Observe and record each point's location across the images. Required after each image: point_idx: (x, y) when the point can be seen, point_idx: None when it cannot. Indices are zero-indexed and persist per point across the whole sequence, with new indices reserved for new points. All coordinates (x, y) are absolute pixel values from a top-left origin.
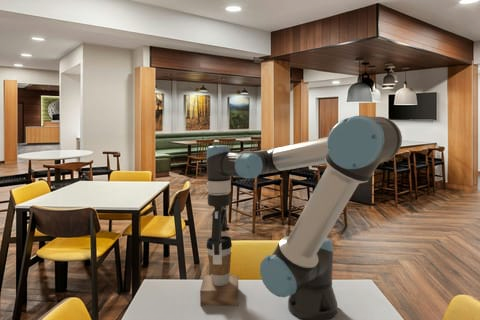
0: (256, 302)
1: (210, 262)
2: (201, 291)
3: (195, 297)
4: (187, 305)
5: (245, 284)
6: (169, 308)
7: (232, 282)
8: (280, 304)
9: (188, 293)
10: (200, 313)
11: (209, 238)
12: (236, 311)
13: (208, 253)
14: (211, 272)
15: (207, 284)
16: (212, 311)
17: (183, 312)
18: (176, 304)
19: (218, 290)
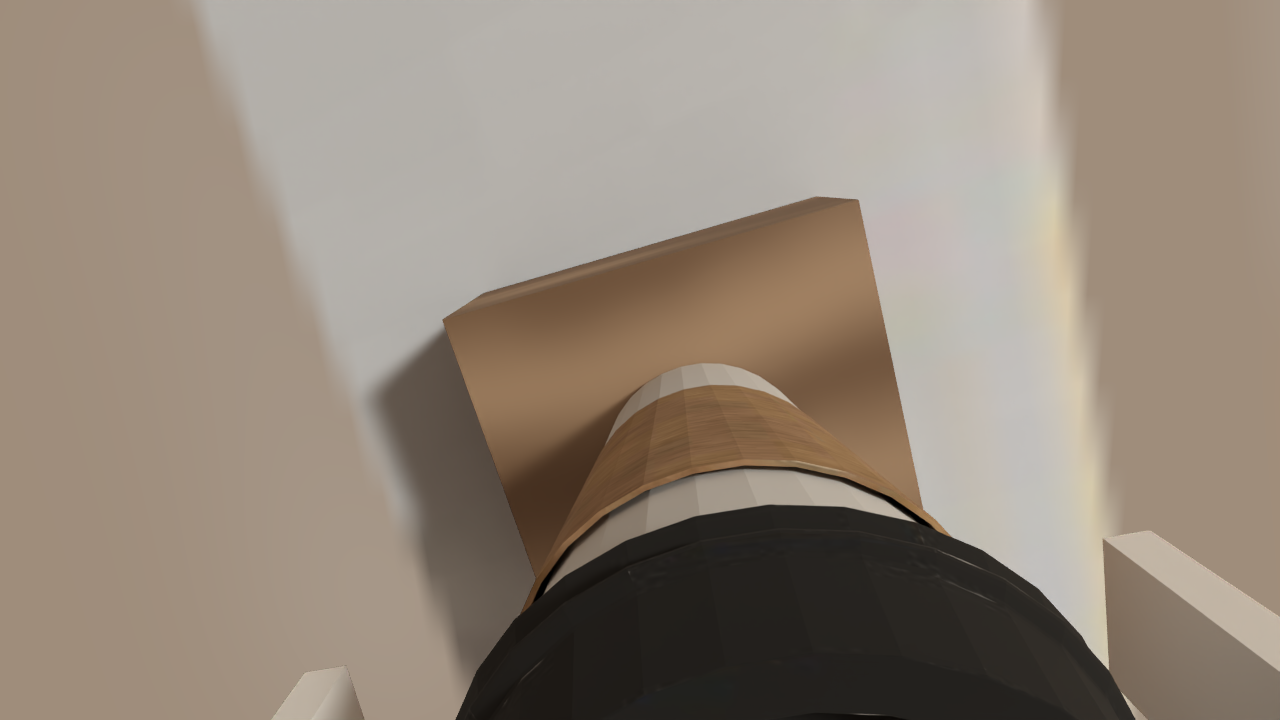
0: None
1: (583, 496)
2: (450, 331)
3: (621, 182)
4: (451, 174)
5: (995, 542)
6: (340, 26)
7: None
8: None
9: (684, 72)
10: (364, 343)
11: (928, 684)
12: (493, 595)
13: (641, 504)
14: (612, 438)
15: (615, 339)
16: (429, 425)
17: (324, 194)
18: (433, 57)
19: (510, 500)
